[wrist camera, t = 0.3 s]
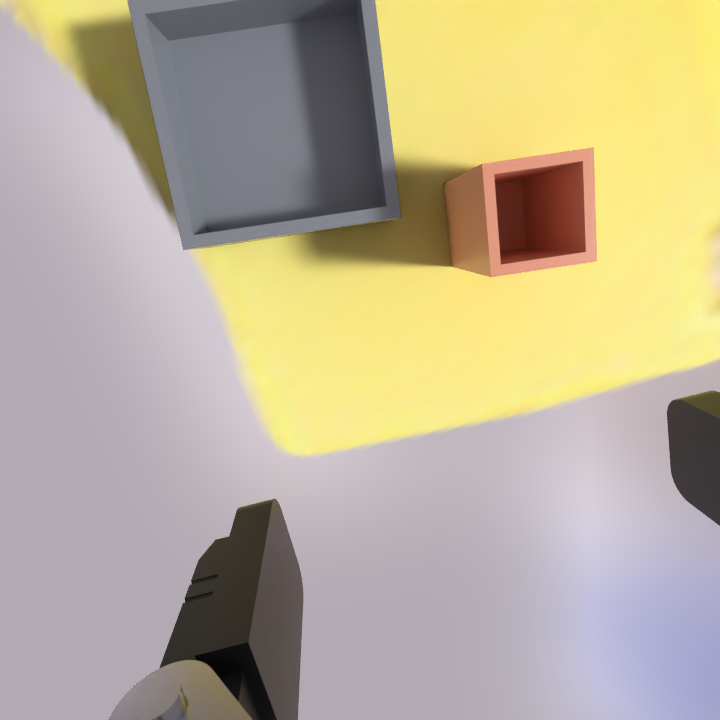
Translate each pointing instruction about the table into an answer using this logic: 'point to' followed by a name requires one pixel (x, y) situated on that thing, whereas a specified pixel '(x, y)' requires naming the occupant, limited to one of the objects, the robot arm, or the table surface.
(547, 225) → the orange square cup
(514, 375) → the table surface
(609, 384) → the table surface
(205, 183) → the charcoal crate
